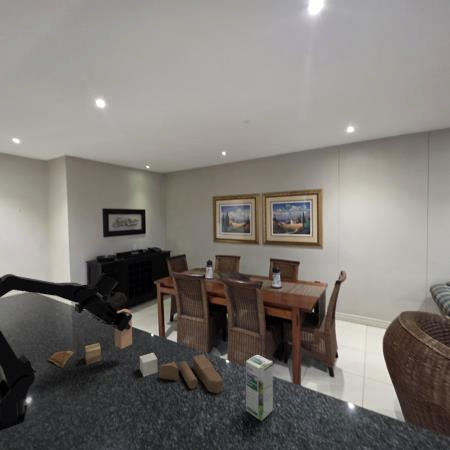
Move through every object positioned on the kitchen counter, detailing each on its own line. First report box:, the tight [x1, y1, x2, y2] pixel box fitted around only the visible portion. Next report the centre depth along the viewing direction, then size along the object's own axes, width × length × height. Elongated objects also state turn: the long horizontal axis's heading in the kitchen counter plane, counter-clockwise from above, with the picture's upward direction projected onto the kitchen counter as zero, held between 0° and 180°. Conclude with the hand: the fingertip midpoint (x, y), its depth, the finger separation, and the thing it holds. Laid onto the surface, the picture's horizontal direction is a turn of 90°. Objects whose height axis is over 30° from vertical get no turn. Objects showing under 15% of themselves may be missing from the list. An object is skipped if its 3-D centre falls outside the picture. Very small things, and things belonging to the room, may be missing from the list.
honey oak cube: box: [84, 342, 102, 365], centre depth 99 cm, size 5×5×5 cm
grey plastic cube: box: [139, 352, 159, 377], centre depth 91 cm, size 5×5×5 cm
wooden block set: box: [158, 354, 224, 394], centre depth 84 cm, size 17×6×18 cm
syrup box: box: [245, 354, 274, 422], centre depth 71 cm, size 6×6×14 cm
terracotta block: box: [114, 308, 133, 350], centre depth 97 cm, size 4×4×13 cm
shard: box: [47, 350, 74, 368], centre depth 98 cm, size 11×8×2 cm
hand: (126, 326), depth 98 cm, fingers closed on terracotta block, 4 cm apart
